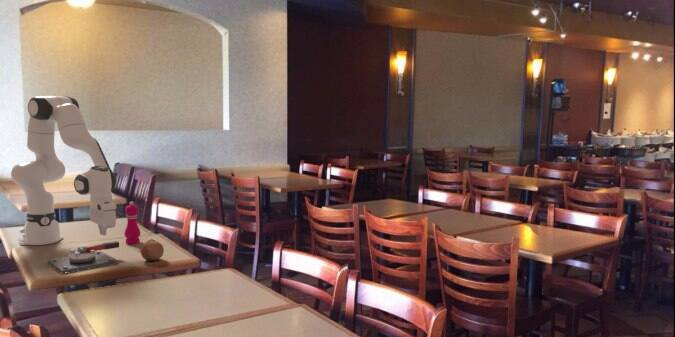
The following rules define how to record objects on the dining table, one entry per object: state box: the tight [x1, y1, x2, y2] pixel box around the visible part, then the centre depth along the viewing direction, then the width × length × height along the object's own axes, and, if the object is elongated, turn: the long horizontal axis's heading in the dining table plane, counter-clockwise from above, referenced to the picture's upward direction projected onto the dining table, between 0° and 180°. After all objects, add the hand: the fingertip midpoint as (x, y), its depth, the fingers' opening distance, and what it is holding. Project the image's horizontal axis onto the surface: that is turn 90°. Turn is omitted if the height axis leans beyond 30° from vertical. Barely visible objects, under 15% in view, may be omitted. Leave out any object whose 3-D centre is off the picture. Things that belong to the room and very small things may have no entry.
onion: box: [140, 238, 165, 262], centre depth 240 cm, size 10×9×10 cm
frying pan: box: [68, 241, 120, 263], centre depth 237 cm, size 20×10×5 cm, turn 133°
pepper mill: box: [123, 201, 141, 245], centre depth 268 cm, size 7×7×20 cm
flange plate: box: [47, 250, 119, 274], centre depth 234 cm, size 18×22×2 cm
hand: (103, 234), depth 245 cm, fingers closed
